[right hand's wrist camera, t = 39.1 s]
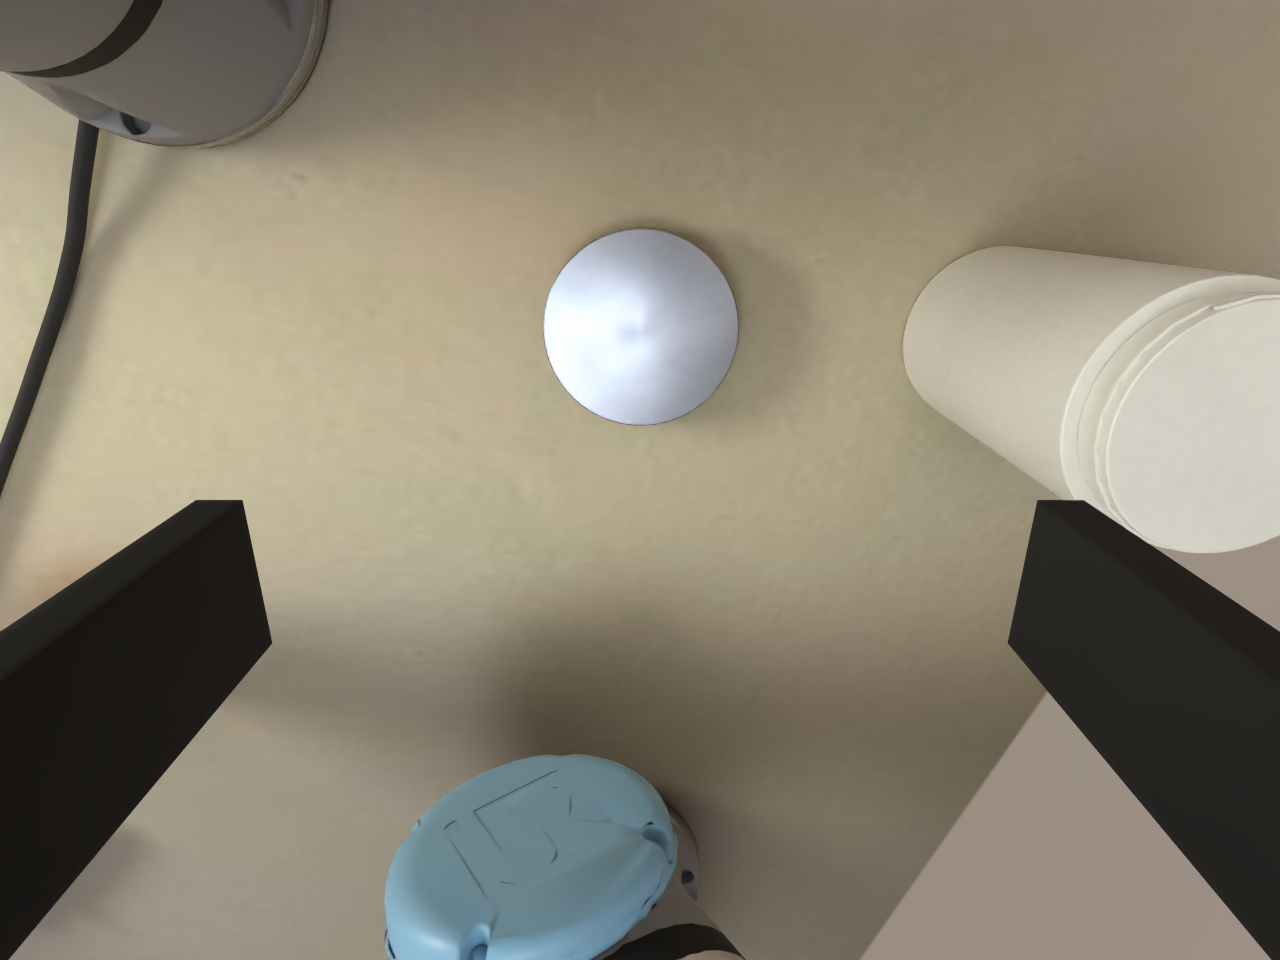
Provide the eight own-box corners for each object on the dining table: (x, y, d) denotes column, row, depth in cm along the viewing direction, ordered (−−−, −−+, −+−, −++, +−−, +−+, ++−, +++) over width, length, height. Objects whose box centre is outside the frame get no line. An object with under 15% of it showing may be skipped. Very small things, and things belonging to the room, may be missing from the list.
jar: (1086, 393, 40) (1393, 525, 24) (917, 440, 41) (1100, 598, 25) (1070, 221, 37) (1412, 238, 20) (888, 276, 38) (1076, 333, 21)
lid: (708, 202, 36) (712, 202, 35) (752, 388, 40) (757, 397, 38) (522, 259, 37) (516, 262, 36) (580, 435, 41) (577, 446, 39)
